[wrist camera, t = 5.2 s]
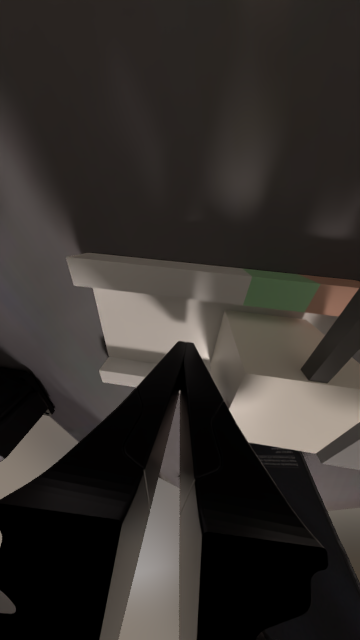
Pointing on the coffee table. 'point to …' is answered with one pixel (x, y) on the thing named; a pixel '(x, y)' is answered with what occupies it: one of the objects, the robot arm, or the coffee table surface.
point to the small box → (339, 578)
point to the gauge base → (200, 314)
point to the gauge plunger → (289, 377)
